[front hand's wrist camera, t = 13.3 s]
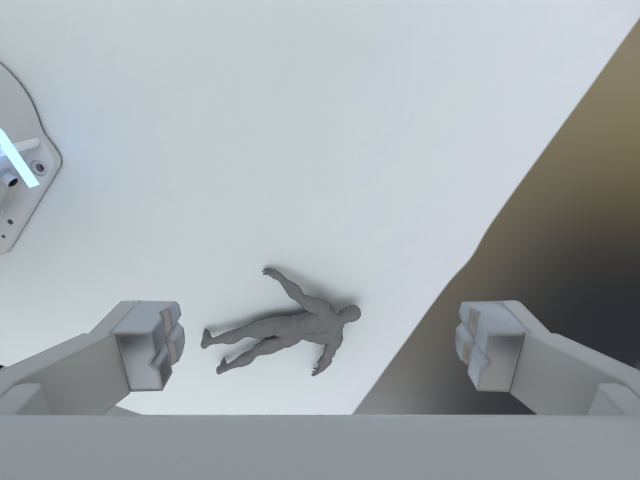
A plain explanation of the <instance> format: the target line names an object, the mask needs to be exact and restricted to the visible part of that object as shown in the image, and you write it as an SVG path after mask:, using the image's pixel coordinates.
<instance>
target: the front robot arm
mask: <svg viewBox="0 0 640 480" xmlns="http://www.w3.org/2000/svg"><path fill="white" fill-rule="evenodd" d="M41 165H42V166H43V167H44V170H43V169H42V168H41ZM60 166H61V157H60V155H59V153H58V151H57V150H56V148H55V147H54V145H53V144H52V143H51V141H50V140H49V139H48V138H47V136H46V135H45V134H44V132H43V129H42V127H41V124H40V121H39V118H38V116H37V113H36V110H35V108H34V106H33V104H32V102H31V100H30V98H29V96H28V94H27V93H26V91H25V90H24V88H23V87H22V86H21V84H20V83H19V82H18V80H17V79H16V78H15V77H14V76H13V75H12V74H11V73H10V72H9V71H8V70H7V69H6V68H5V67H4V66H3V65H2V64H0V254H3V253H6V252H8V251H9V250H10V249H11V248H12V246H13V245H14V243H15V242H16V240H17V238H18V236H19V235H20V233H21V231H22V230H23V228H24V226H25V225H26V223H27V221H28V220H29V218H30V216H31V215H32V213H33V211H34V210H35V208H36V206H37V205H38V203H39V201H40V200H41V198H42V196H43V195H44V193H45V191H46V190H47V188H48V186H49V185H50V183H51V181H52V180H53V178H54V176H55V174H56V173H57V171H58V169H59V168H60ZM180 316H181V311H180V306H179V304H178V303H177V302H176V301H122V302H120V303H119V304H118V305H117V306H116V307H115V308H114V309H113V310H112V311H111V312H110V313H109V314H108V315H107V316H106V317H105V318H104V319H103V320H102V321H101V322H100V323H99V324H98V325H97V326H96V327H95V328H94V329H93V330H92V331H91V332H90V333H89V334H81V335H79V336H77V337H74V338H72V339H70V340H68V341H65V342H63V343H61V344H59V345H56V346H54V347H52V348H50V349H48V350H45V351H43V352H41V353H39V354H36V355H34V356H32V357H30V358H27V359H25V360H23V361H21V362H18V363H16V364H14V365H12V366H9V367H7V368H5V369H3V370H0V480H640V371H639V370H637V369H635V368H633V367H630V366H628V365H626V364H624V363H621V362H619V361H617V360H615V359H612V358H610V357H608V356H606V355H604V354H601V353H599V352H597V351H595V350H592V349H590V348H588V347H586V346H583V345H581V344H579V343H577V342H575V341H572V340H570V339H568V338H566V337H563V336H561V335H559V334H551V333H550V332H549V331H548V330H547V329H546V328H545V327H544V326H543V325H542V324H541V323H540V322H539V321H538V320H537V319H536V318H535V317H534V316H533V315H532V314H531V313H530V312H529V311H528V310H527V309H526V308H525V307H524V306H523V305H522V304H521V303H520V302H518V301H516V300H514V301H483V302H462V304H461V306H460V311H459V316H460V318H461V319H462V321H463V322H462V323H461V324H460V325H459V326H458V327H457V328H456V336H455V341H456V349H457V352H458V355H459V357H460V359H461V361H462V362H464V363H465V364H467V365H468V366H469V368H468V374H469V376H470V378H471V379H472V381H473V383H474V385H475V387H476V389H477V390H478V391H506V392H510V393H511V394H512V395H513V396H514V397H516V398H517V399H518V400H520V401H521V402H522V403H523V404H525V405H526V406H527V407H528V408H530V409H531V410H532V411H534V412H535V413H536V414H537V415H103V414H104V413H105V412H107V411H108V410H109V409H110V408H112V407H113V406H114V405H116V404H117V403H118V402H119V401H121V400H122V399H123V398H124V397H126V396H127V395H128V394H130V392H134V391H163V389H164V387H165V385H166V383H167V381H168V380H169V378H170V376H171V374H172V368H171V366H172V365H173V364H175V363H176V362H178V361H179V359H180V357H181V355H182V353H183V348H184V344H185V334H184V328H183V327H182V326H181V325H180V324H179V323H178V322H177V321H178V319H179V318H180ZM3 367H4V366H3V365H0V369H1V368H3Z"/></svg>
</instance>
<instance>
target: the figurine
mask: <svg viewBox="0 0 640 480" xmlns="http://www.w3.org/2000/svg"><path fill="white" fill-rule="evenodd" d="M264 270H266V271H262V272H265V273H263V275H269V276H271V277H272V278H274V279H277V280H278V281H279V282H280V283H281V284H282V286H283V288H284V289H285V291H286V292H287V294H288V295H289V297H290V298H292V299H294V300H296V301H297V302H298V303H299V304H300V305H301V306H302V307H303V308H304V309H305V310H306V311H307V312H304V313H301V314H299V315H291V316H276V317H268V318H264V319H261V320H258V321H255V322H253V323H252V324H250V325H247V326H243V327H241V328H239V329H235V330H231V331H228V332H226V333H223V334H221V335H219V336H217V337H214V338H212V337H211V334H210V331H209V330H208V329H205V330H204V332H203V339H202V342H201V347H202V348H203V349H205V348H207V347H208V346H209V345H212V344H219V343H224V344H234V343H236V342H238V341H239V340H241V339H242V338H244V337H252V338H265V337H266V338H265V339H263V340H262V341H261V342H260V343H258V344H256V345H255V346H254V347H253V348H252V349H251V350H249V351H247V352H245V353H243V354H241V355H240V356H239V357H238V358H236V359H235V360H233V361H232V362H230V363H229V364H227V363H226V360H225V357H223V359H222V361H221V364H220V366H218V367H217V369H216V371H217V374H221V373H223V372H225V371H228V370H229V369H233V368H236V367H243V366H246V365H248V364H250V363H251V362H252V361H253V360H254V359H255V358H256V357H257V356H259V355H267V354H272V353H274V352H276V351H278V350H281V349H283V348H288V347H291V346H293V345H295V344H297V343H298V342H299V341H300V340H303V339H305V340H306V341H309V342H314V343H317V344H326V345H325V348H324V353H323V356H321V357H320V359H319V361H317V363H318V364H319V366H318V368H313V369H315V370H316V371H312V372H313V374H311V375H312V376H315V375H317V374H319V373H321V372H323V371H324V370H325V369H326V368H327V367H328V366H329V365H330V364H331V362H332V357H334V355H335V352H336V350H337V349H338V348H339V347H340V345H341V343H342V341H343V335H342V330H343V326H344V324H345V323H348V322H353V321H356V320H358V319H359V318H360V316H361V311H360V309H359V307H357V306H356V305H350V306H347V307H345V308H343V309H342V310H340V313H335V312H334V310H333V309H332V308H331V305H330V304H329V303H327V302H326V301H324V300H322V299H315V298H312V297H311V296H308V295H305V294H303V292H302V290H301V289H300V287H299V286H298V285H297V284H295V283H293V282H291V281H290V280H288V279H286V278H285V277H284V276H283V275H282V274H281V273H280V272H278V271H276V270H275V269H271V268H266V269H265V268H264ZM315 372H316V373H315Z"/></svg>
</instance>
